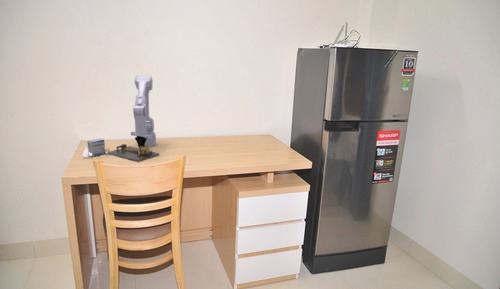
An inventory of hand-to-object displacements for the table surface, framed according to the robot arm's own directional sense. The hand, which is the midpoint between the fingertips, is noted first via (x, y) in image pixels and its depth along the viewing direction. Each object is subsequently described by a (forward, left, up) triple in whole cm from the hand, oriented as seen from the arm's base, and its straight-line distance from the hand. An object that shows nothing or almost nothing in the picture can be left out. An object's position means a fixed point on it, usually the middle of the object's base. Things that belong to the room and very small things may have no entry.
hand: (141, 149), depth 189 cm
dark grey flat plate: (+1, -5, -4) cm, 7 cm away
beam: (+2, -4, -3) cm, 6 cm away
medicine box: (+14, -21, -4) cm, 26 cm away
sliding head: (+1, +3, -3) cm, 4 cm away
